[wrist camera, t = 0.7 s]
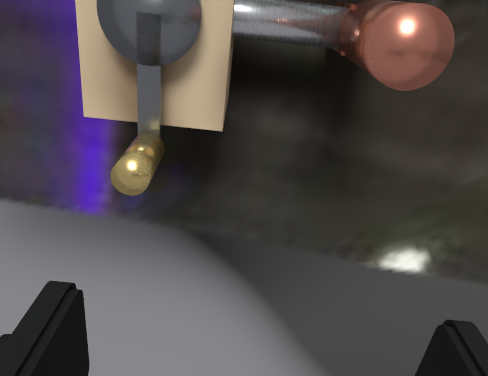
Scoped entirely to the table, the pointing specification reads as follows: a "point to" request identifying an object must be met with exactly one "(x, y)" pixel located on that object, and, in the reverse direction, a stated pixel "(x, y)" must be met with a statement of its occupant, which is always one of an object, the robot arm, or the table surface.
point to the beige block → (174, 74)
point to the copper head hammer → (358, 34)
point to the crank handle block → (147, 72)
